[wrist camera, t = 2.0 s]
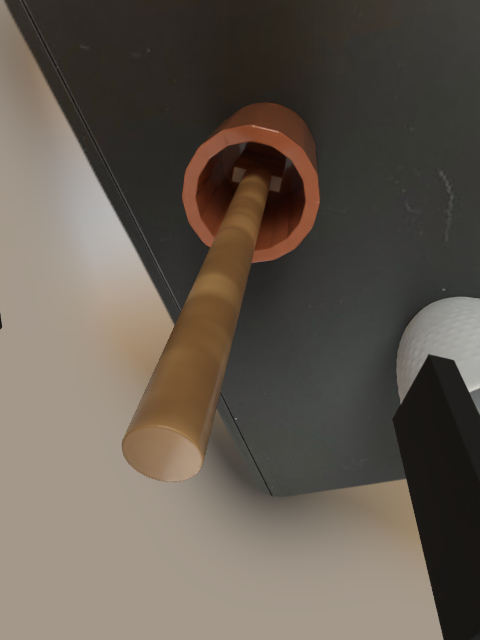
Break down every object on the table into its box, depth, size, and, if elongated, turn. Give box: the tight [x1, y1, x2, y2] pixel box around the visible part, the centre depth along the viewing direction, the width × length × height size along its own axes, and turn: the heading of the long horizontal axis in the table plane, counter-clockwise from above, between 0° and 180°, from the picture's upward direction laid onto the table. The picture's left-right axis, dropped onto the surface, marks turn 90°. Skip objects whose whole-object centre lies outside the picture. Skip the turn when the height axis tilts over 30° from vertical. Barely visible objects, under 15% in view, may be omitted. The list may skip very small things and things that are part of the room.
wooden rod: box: [122, 150, 286, 482], centre depth 21 cm, size 3×2×27 cm, turn 79°
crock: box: [182, 102, 320, 263], centre depth 28 cm, size 8×8×10 cm
